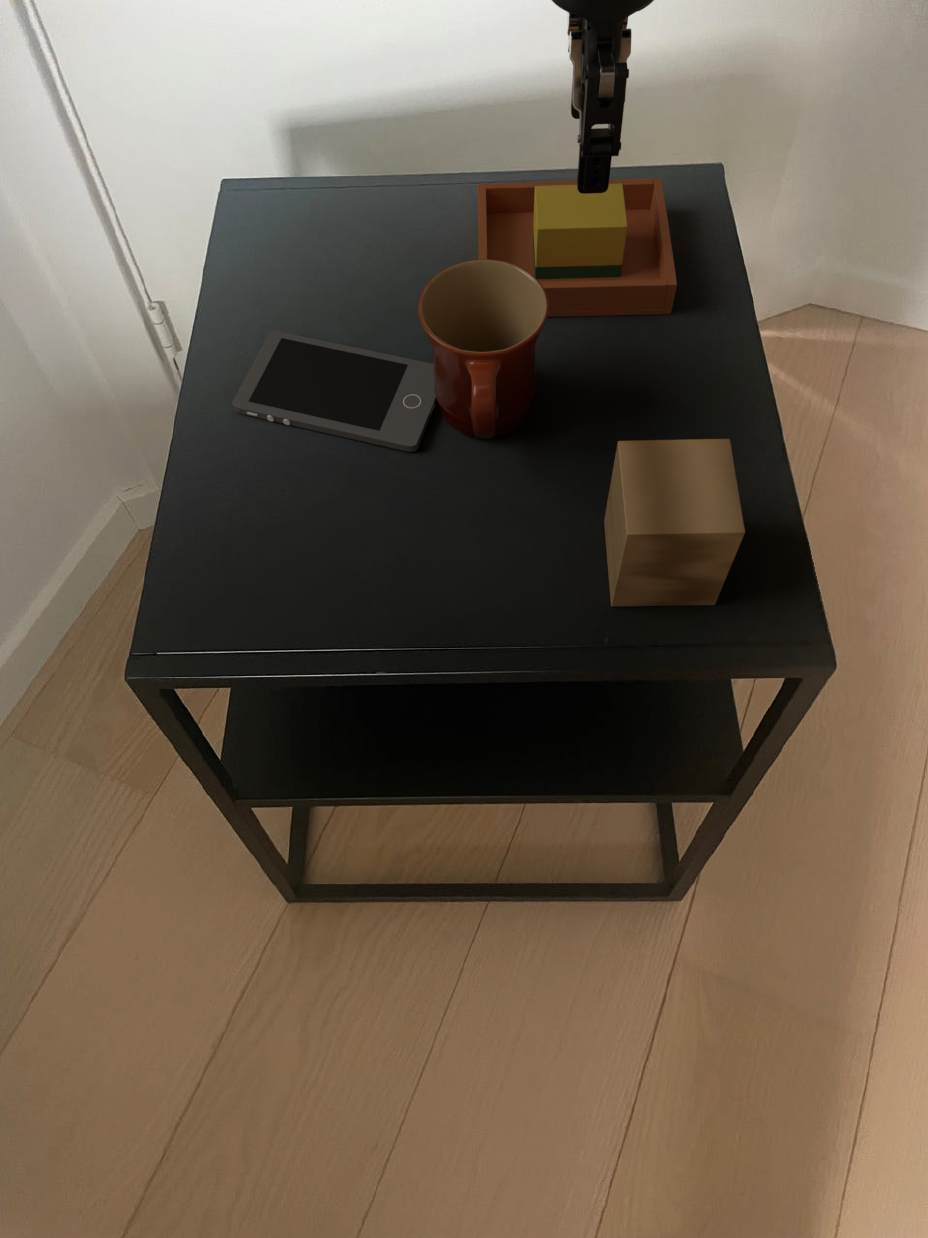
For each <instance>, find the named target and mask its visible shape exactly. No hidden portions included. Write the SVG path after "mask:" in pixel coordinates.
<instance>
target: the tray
mask: <svg viewBox="0 0 928 1238" xmlns="http://www.w3.org/2000/svg"><path fill="white" fill-rule="evenodd" d="M609 184H623V191H624V200H625V208H626V217H627V225H628V228H627V235H626V242H625V249H624V256H623V263H622V270H621V276H620V277H598V278H559V279H537V280H538V281H539V282H540V283H541V285H542V286H543V288H544V290H545V292H546V294H547V298H548V304H549V310H548V316H547V318H558V317H559V318H562V317H563V318H564V317H565V318H566V317H567V318H568V317H606V316H607V317H608V316H609V317H610V316H646V315H647V316H649V315H671V313H672V312H673V311H672V310H673V306H674V301H675V297H676V292H677V287H678V281H677V273H676V267H675V260H674V251H673V247H672V241H671V240H672V239H671V233H670V226H669V225H670V224H669V219H668V212H667V205H666V198H665V192H664V191H665V189H664V184H663V179H662V177H656V178H655V177H654V178H624V179H623V178H621V179H609ZM555 185H577V180H551V181H550V180H548V181H546V180H545V181H516V182H515V181H513V182H512V181H511V182H487V183H486V182H478V183H477V218H478V219H477V234H478V237H477V239H478V241H477V243H478V244H477V245H478V249H477V250H478V260H479V259H491V260H499V261H504V262H508V263H511V264H514V265H517V266H519V267H521V268H523V269H525V270H526V271H528V272H529V273H531V274H532V275H533V276H534V277H535V270H534V250H533V221H534V195H535V186H555Z"/></svg>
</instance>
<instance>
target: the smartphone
mask: <svg viewBox="0 0 928 1238" xmlns="http://www.w3.org/2000/svg"><path fill="white" fill-rule="evenodd" d="M434 383H435V381H434V365H433V362H427V361H422V360H417V359H413V358H408V357H403V356H399V355H394V354H390V353H385V352H384V353H383V352H380V351H375V350H369V349H364V348H361V347H356V346H351V345H347V344H341V343H337V342H332V341H327V340H322V339H317V338H312V337H308V336H304V335H298V334H293V333H288V332H284V331H278V330H273V331H272V330H271V331H270V332H268V334H267V336H266V338H265V340H264V342H263V343H262V345H261V347H260V349H259V351H258V353H257V355H256V357H255V359H254V360H253V362H252V364H251V366H250V368H249V370H248V372H247V373H246V375H245V377H244V379H243V381H242V383H241V385H240V386H239V389H238V391H237V392H236V393H235V396H234V398H233V400H232V401H231V404H232V407H233V410H234V412H235V413H238V414H240V415H245V416H249V417H252V418H253V417H254V418H258V419H262V420H266V421H269V422H275V423H279V424H283V425H286V426H292V427H293V426H294V427H297V428H302V429H305V430H310V431H315V432H319V433H323V434H328V435H332V436H337V437H341V438H346V439H350V440H354V441H359V442H364V443H368V444H372V445H377V446H382V447H386V448H389V449H395V450H399V451H403V452H408V453H409V452H410V453H413V452H416V451H418V449H419V447H420V444H421V442H422V440H423V436H424V434H425V432H426V429H427V427H428V425H429V422H430V419H431V417H432V416H433V413H434V410H435V407H436V404H437V403H438V400H437V398H436V395H435V390H434Z"/></svg>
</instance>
